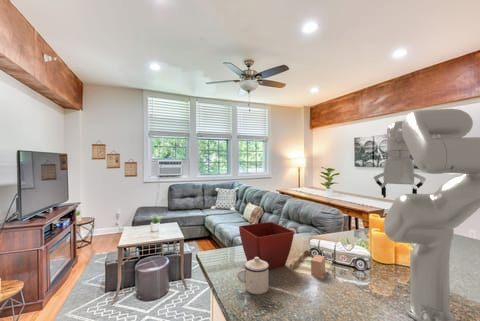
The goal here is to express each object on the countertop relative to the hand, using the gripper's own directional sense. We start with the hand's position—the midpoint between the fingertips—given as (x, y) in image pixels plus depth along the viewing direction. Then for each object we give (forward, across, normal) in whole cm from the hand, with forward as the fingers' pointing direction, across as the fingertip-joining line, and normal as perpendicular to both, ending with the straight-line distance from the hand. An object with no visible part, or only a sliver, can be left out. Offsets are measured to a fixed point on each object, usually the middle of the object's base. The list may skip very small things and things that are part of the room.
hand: (398, 198), depth 96 cm
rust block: (+32, -28, -13) cm, 44 cm away
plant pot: (+33, -51, -17) cm, 63 cm away
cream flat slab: (+33, -32, -7) cm, 47 cm away
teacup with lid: (+33, -45, -38) cm, 67 cm away
